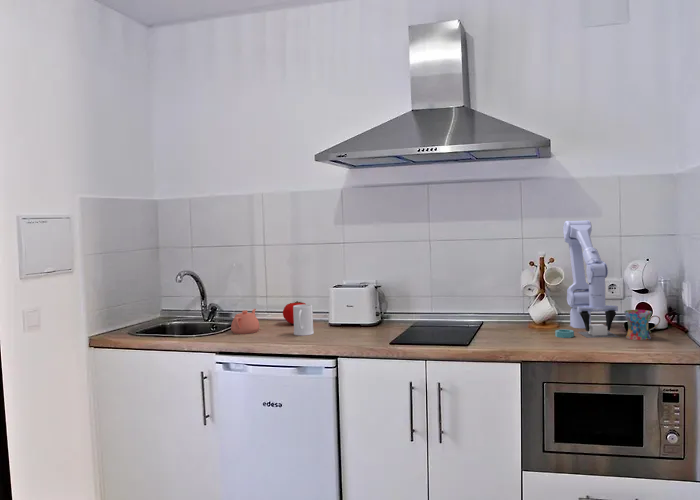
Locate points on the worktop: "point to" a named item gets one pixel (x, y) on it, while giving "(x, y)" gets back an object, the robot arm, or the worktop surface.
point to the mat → (597, 336)
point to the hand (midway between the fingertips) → (597, 330)
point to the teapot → (245, 323)
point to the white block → (598, 329)
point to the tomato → (290, 311)
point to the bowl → (564, 333)
